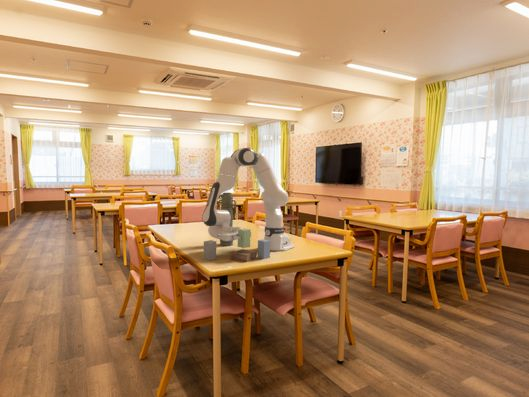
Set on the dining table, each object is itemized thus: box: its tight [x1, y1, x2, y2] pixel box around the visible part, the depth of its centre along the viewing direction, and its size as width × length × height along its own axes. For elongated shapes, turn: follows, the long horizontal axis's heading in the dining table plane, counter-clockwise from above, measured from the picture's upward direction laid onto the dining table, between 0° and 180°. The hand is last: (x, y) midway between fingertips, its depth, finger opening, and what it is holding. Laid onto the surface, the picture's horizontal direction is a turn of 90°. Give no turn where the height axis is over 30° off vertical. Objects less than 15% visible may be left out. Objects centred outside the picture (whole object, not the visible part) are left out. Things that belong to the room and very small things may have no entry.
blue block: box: [257, 238, 271, 260], centre depth 200 cm, size 5×5×10 cm
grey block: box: [203, 239, 217, 261], centre depth 194 cm, size 5×5×10 cm
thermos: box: [217, 192, 237, 247], centre depth 232 cm, size 9×12×35 cm
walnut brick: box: [230, 248, 258, 263], centre depth 197 cm, size 12×10×4 cm
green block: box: [237, 227, 252, 249], centre depth 196 cm, size 5×5×10 cm
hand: (245, 237), depth 195 cm, fingers closed on green block, 5 cm apart
